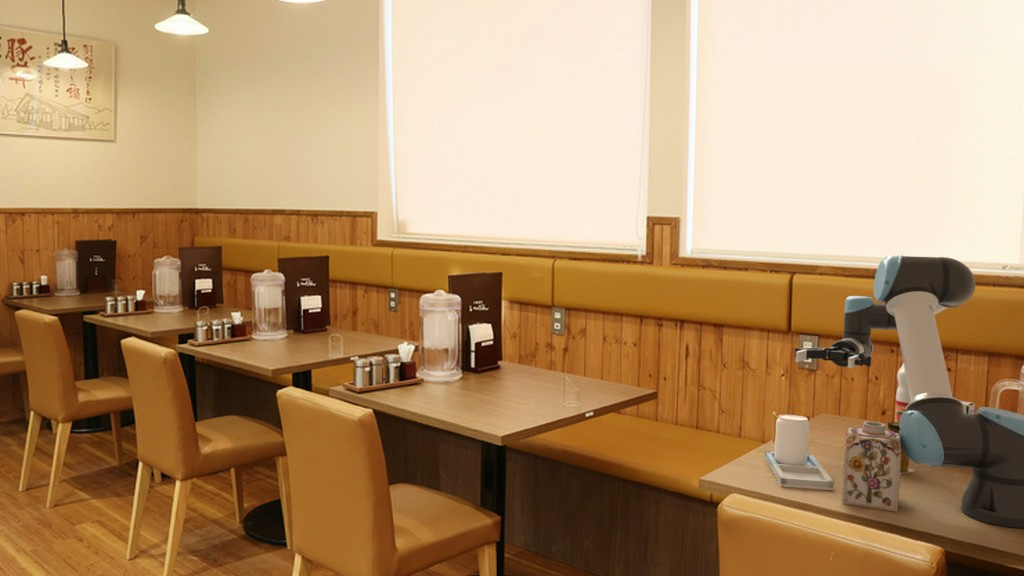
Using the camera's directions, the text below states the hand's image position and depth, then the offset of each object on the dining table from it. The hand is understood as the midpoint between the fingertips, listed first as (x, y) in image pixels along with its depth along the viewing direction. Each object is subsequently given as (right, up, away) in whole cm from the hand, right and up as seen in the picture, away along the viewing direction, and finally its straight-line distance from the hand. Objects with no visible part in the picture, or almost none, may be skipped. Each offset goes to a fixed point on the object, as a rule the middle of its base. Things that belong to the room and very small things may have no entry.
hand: (822, 359), depth 220 cm
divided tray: (-11, -28, -11) cm, 32 cm away
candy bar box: (+36, -28, +7) cm, 46 cm away
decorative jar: (-1, -30, -30) cm, 42 cm away
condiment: (+17, -28, -4) cm, 33 cm away
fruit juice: (+35, -26, +24) cm, 50 cm away
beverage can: (-10, -26, -5) cm, 29 cm away
